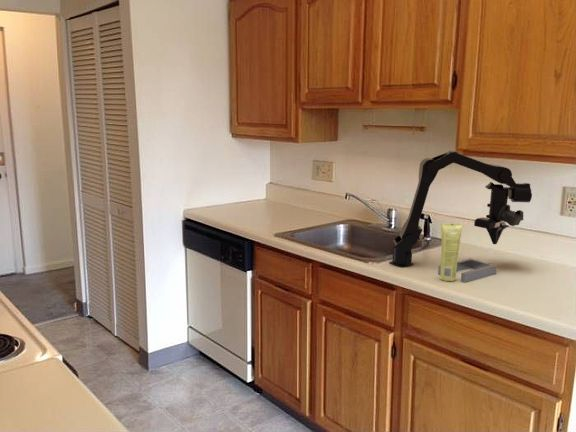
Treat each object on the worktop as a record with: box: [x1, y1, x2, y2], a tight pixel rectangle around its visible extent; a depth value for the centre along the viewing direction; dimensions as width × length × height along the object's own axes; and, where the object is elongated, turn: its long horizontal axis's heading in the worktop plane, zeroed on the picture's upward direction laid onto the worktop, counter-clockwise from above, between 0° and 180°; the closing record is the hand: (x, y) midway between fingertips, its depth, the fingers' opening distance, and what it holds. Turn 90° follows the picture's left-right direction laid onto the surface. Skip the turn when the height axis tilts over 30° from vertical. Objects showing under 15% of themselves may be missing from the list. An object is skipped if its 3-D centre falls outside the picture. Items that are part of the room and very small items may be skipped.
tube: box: [439, 222, 464, 282], centre depth 177 cm, size 6×5×20 cm
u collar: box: [437, 257, 498, 284], centre depth 185 cm, size 11×18×3 cm, turn 125°
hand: (494, 244), depth 192 cm, fingers closed
